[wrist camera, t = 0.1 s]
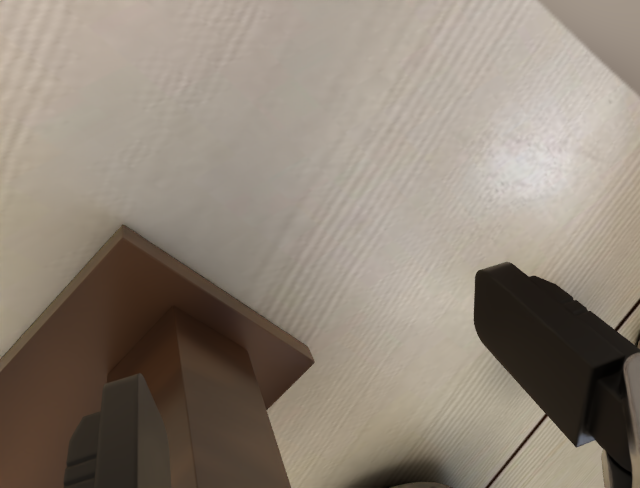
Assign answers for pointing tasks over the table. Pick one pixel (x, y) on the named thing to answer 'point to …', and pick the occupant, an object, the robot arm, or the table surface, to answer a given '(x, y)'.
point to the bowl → (422, 485)
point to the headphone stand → (149, 371)
